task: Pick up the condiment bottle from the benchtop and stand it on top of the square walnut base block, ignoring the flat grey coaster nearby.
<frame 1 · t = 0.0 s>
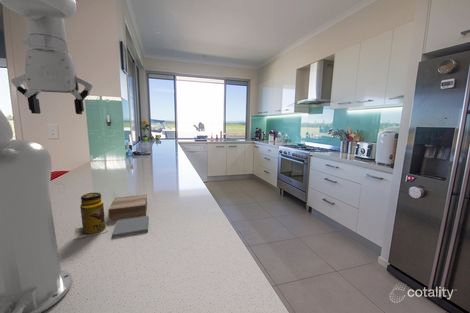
hand: (58, 113, 58), 37 cm above the countertop, tool pointing down, fingers open, 9 cm apart
coaster: (132, 227, 70), on the countertop
condiment: (91, 231, 68), on the countertop
base: (130, 211, 82), on the countertop
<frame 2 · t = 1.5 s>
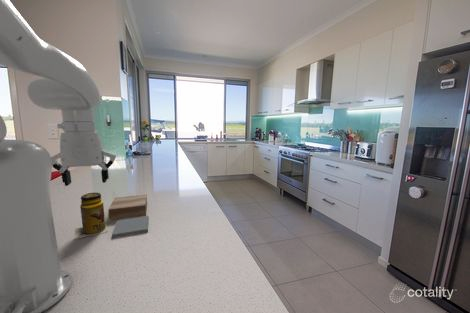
hand: (87, 182, 65), 16 cm above the countertop, tool pointing down, fingers open, 9 cm apart
nothing on the countertop moved.
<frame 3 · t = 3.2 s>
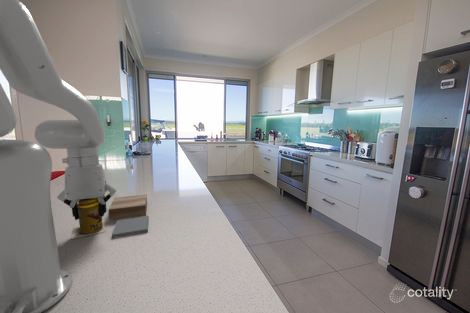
hand: (90, 215, 67), 5 cm above the countertop, tool pointing down, fingers closed on condiment, 6 cm apart
condiment: (88, 231, 67), on the countertop, touching gripper
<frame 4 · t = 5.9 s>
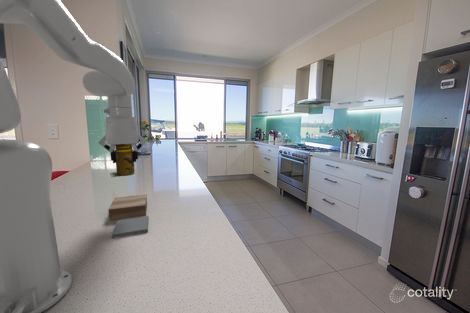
hand: (125, 161, 78), 20 cm above the countertop, tool pointing down, fingers closed on condiment, 6 cm apart
condiment: (123, 174, 79), point 15 cm above the countertop, touching gripper
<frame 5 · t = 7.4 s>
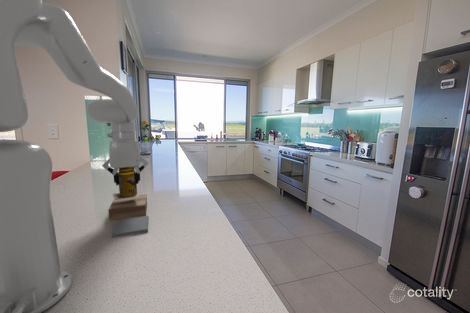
hand: (127, 183, 80), 11 cm above the countertop, tool pointing down, fingers closed on condiment, 6 cm apart
condiment: (126, 196, 81), point 6 cm above the countertop, touching gripper
when the fingers open (10 cm above the countertop, at t = 8.6 s): condiment drops 1 cm, resting on base.
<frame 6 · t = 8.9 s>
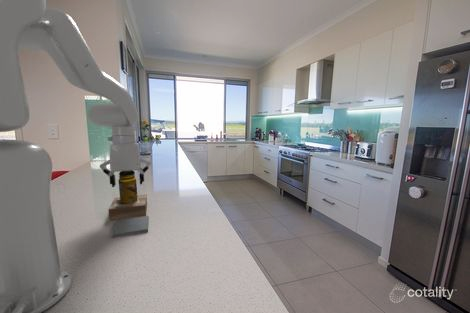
hand: (127, 184, 80), 11 cm above the countertop, tool pointing down, fingers open, 9 cm apart
condiment: (126, 202, 81), point 4 cm above the countertop, touching base
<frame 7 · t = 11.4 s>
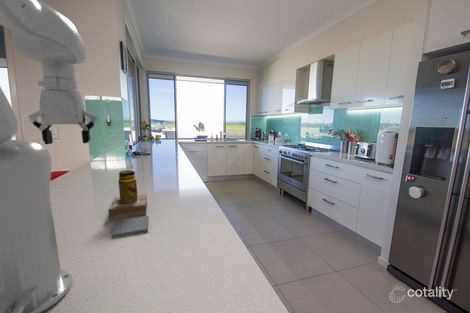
hand: (67, 143, 65), 28 cm above the countertop, tool pointing down, fingers open, 9 cm apart
nothing on the countertop moved.
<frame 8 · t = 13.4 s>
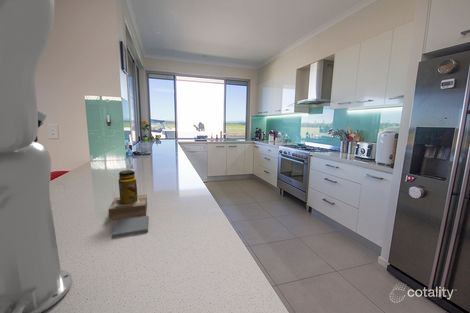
hand: (9, 145, 56), 28 cm above the countertop, tool pointing down, fingers open, 9 cm apart
nothing on the countertop moved.
at the end: condiment inside the target area on the base (0.9 cm from its centre), point 3.8 cm above the base's base; condiment tilted 0°; the gripper is holding nothing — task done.
